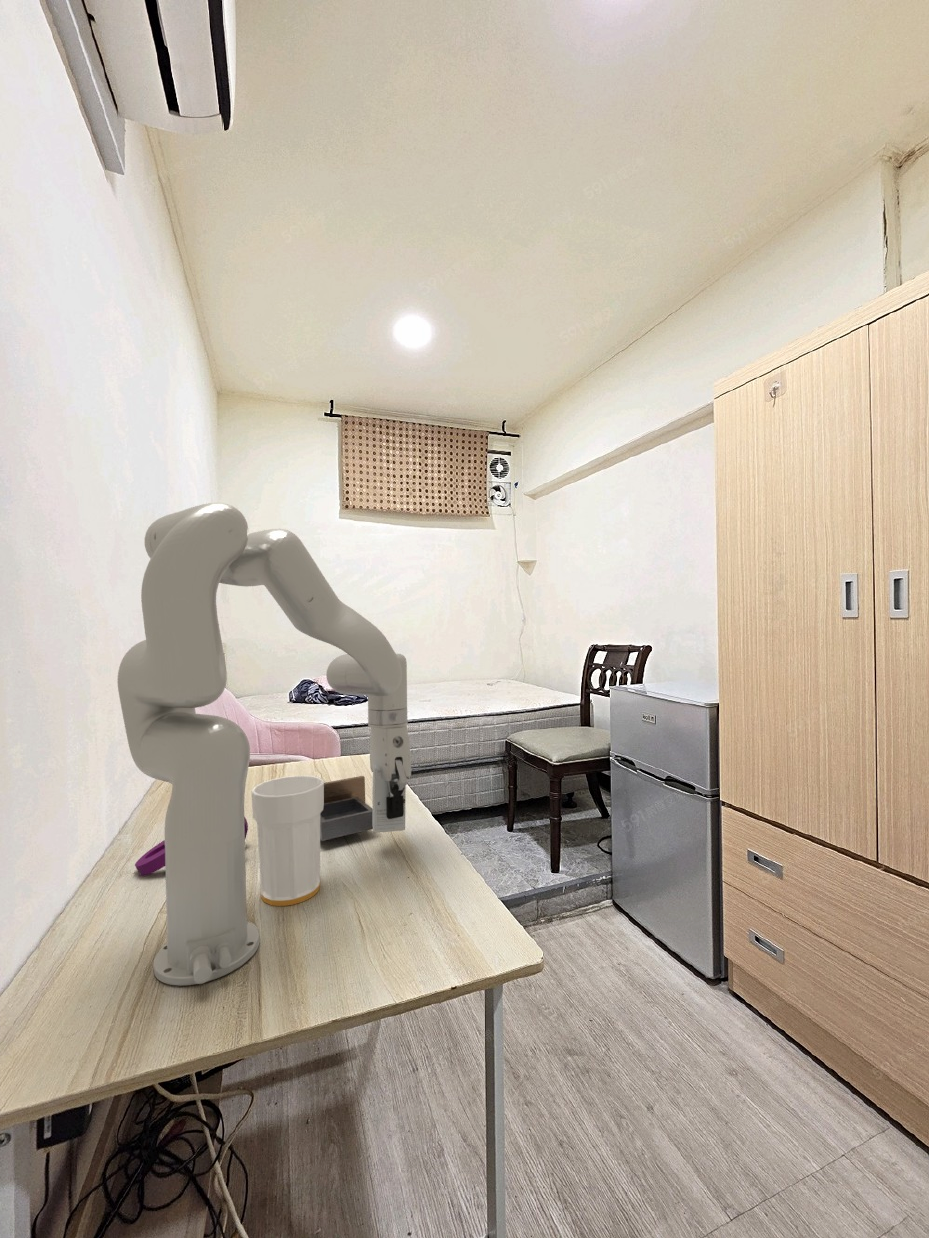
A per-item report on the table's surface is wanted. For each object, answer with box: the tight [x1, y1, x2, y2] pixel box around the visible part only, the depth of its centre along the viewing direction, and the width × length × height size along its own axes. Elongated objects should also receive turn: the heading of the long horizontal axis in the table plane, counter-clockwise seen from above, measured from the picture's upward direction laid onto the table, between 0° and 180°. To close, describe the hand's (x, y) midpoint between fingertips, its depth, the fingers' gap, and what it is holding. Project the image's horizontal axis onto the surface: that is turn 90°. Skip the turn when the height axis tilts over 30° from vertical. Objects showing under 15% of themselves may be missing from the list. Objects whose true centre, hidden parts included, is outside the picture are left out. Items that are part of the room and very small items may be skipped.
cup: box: [251, 775, 325, 907], centre depth 85 cm, size 11×11×17 cm
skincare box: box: [372, 765, 407, 834], centre depth 99 cm, size 6×4×12 cm
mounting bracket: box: [134, 815, 249, 877], centre depth 97 cm, size 10×8×18 cm
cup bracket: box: [320, 775, 373, 842], centre depth 108 cm, size 14×16×9 cm
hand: (388, 811), depth 98 cm, fingers closed on skincare box, 5 cm apart
